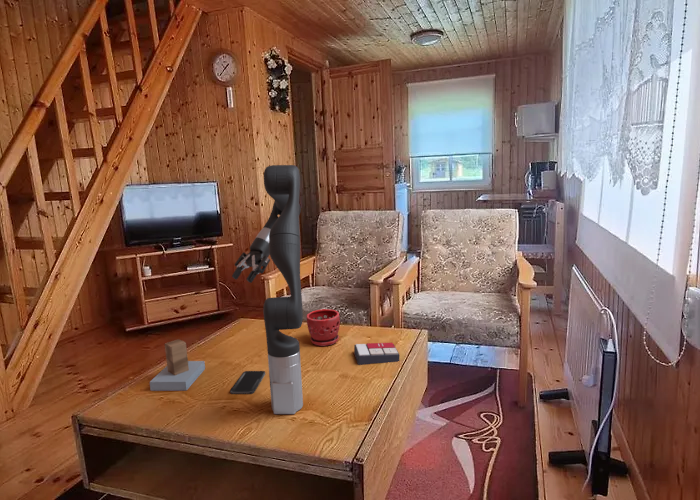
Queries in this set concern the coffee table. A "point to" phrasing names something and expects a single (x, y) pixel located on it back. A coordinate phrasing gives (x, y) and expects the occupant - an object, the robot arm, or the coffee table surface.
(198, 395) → the coffee table surface
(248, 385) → the phone
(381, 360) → the calculator
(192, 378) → the base board
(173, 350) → the walnut block
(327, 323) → the plant pot
